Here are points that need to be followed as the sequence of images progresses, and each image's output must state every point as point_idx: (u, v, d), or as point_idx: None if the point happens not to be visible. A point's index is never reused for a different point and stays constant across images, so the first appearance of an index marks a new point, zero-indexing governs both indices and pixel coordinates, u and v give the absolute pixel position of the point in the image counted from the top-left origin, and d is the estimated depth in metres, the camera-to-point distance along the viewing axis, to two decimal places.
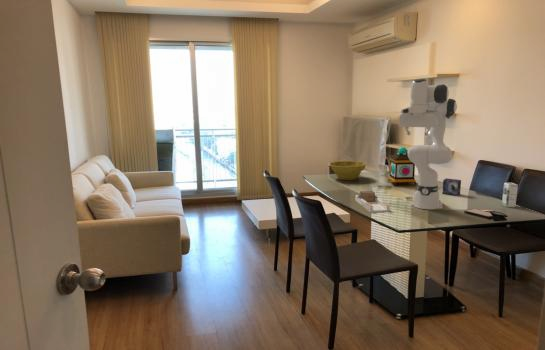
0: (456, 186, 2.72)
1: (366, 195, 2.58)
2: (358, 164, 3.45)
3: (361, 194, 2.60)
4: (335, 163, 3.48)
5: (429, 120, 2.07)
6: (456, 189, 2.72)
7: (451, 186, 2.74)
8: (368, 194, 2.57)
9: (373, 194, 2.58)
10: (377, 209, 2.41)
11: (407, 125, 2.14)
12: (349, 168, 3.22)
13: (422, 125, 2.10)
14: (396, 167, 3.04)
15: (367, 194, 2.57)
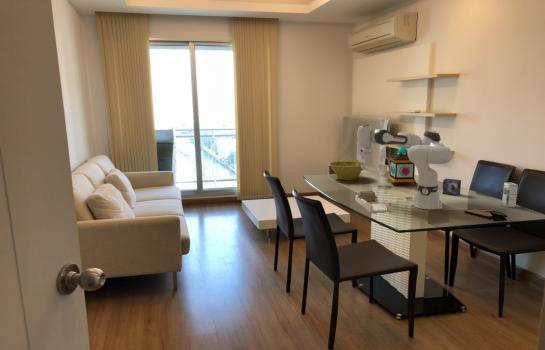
0: (456, 186, 2.72)
1: (366, 195, 2.58)
2: (358, 164, 3.45)
3: (361, 194, 2.60)
4: (335, 163, 3.48)
5: None
6: (456, 189, 2.72)
7: (451, 186, 2.74)
8: (368, 194, 2.57)
9: (373, 194, 2.58)
10: (377, 209, 2.41)
11: None
12: (349, 168, 3.22)
13: None
14: (396, 167, 3.04)
15: (367, 194, 2.57)
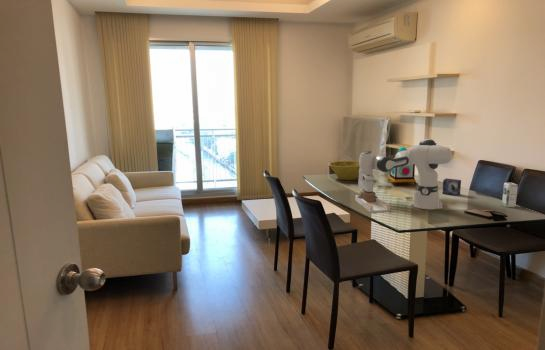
0: (456, 186, 2.72)
1: (366, 196, 2.57)
2: (358, 164, 3.45)
3: (361, 194, 2.59)
4: (335, 163, 3.48)
5: None
6: (456, 189, 2.72)
7: (451, 186, 2.74)
8: (368, 194, 2.56)
9: (374, 194, 2.57)
10: (377, 209, 2.41)
11: None
12: (349, 168, 3.22)
13: None
14: None
15: (368, 194, 2.56)
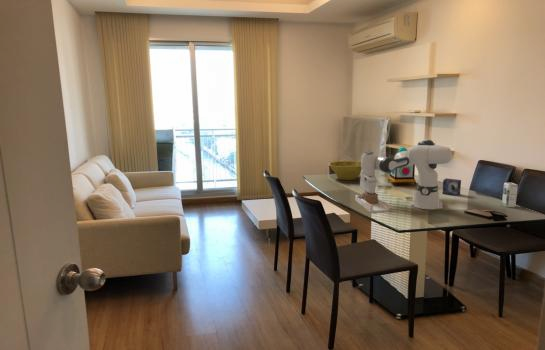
0: (456, 186, 2.72)
1: (368, 197, 2.53)
2: (358, 164, 3.45)
3: (363, 196, 2.55)
4: (335, 163, 3.48)
5: None
6: (456, 189, 2.72)
7: (451, 186, 2.74)
8: (370, 196, 2.53)
9: (376, 196, 2.53)
10: (377, 209, 2.41)
11: None
12: (349, 168, 3.22)
13: None
14: None
15: (370, 196, 2.53)
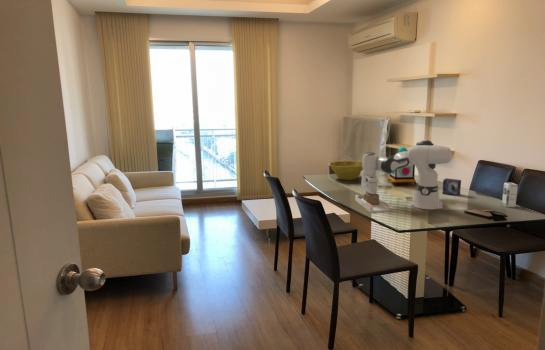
0: (456, 186, 2.72)
1: (370, 198, 2.50)
2: (358, 164, 3.45)
3: (365, 197, 2.53)
4: (335, 163, 3.48)
5: None
6: (456, 189, 2.72)
7: (451, 186, 2.74)
8: (371, 197, 2.50)
9: (377, 197, 2.51)
10: (377, 209, 2.41)
11: None
12: (349, 168, 3.22)
13: None
14: None
15: (371, 197, 2.50)
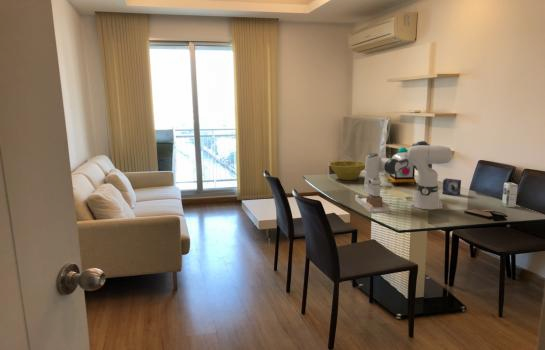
0: (456, 186, 2.72)
1: (373, 200, 2.45)
2: (358, 164, 3.45)
3: (368, 199, 2.47)
4: (335, 163, 3.48)
5: None
6: (456, 189, 2.72)
7: (451, 186, 2.74)
8: (375, 199, 2.45)
9: (380, 199, 2.45)
10: (377, 209, 2.41)
11: None
12: (349, 168, 3.22)
13: None
14: None
15: (374, 199, 2.45)
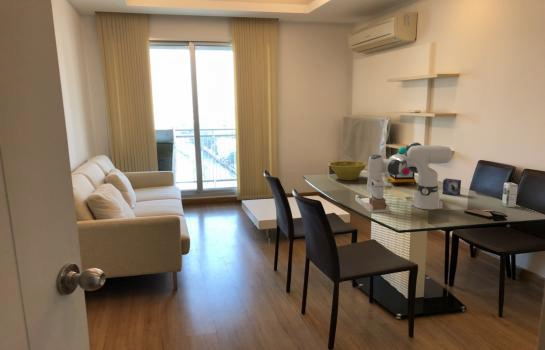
0: (456, 186, 2.72)
1: (376, 202, 2.40)
2: (358, 164, 3.45)
3: (370, 201, 2.42)
4: (335, 163, 3.48)
5: None
6: (456, 189, 2.72)
7: (451, 186, 2.74)
8: (378, 201, 2.40)
9: (383, 201, 2.40)
10: (377, 209, 2.41)
11: None
12: (349, 168, 3.22)
13: None
14: None
15: (377, 201, 2.40)
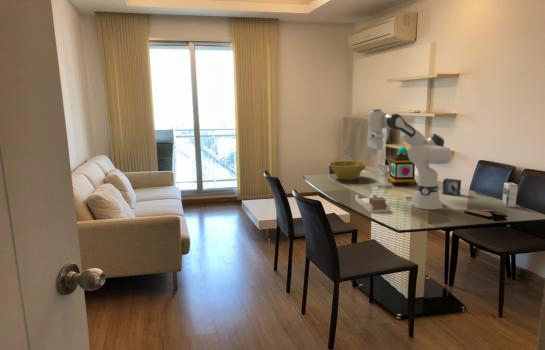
0: (456, 186, 2.72)
1: (376, 202, 2.40)
2: (358, 164, 3.45)
3: (370, 201, 2.42)
4: (335, 163, 3.48)
5: None
6: (456, 189, 2.72)
7: (451, 186, 2.74)
8: (378, 201, 2.40)
9: (383, 201, 2.40)
10: (377, 209, 2.41)
11: None
12: (349, 168, 3.22)
13: None
14: (396, 167, 3.04)
15: (377, 201, 2.40)
